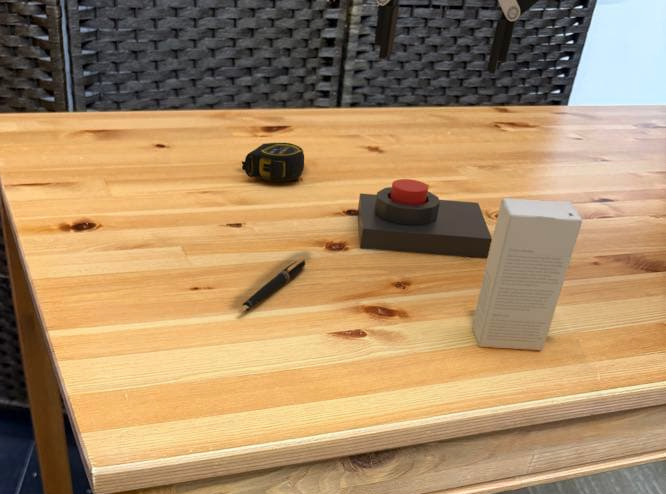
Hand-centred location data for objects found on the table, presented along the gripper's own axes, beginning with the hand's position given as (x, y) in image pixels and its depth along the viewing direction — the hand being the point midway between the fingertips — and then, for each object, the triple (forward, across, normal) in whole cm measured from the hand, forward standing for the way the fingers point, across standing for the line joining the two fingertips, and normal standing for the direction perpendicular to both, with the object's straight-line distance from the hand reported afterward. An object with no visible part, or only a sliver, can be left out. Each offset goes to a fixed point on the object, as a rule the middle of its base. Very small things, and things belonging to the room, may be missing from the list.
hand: (438, 63), depth 73 cm
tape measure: (+19, +21, -21) cm, 35 cm away
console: (+19, 0, -10) cm, 22 cm away
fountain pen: (+19, +11, +11) cm, 25 cm away
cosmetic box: (+19, -12, +11) cm, 25 cm away
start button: (+16, +2, -10) cm, 19 cm away
